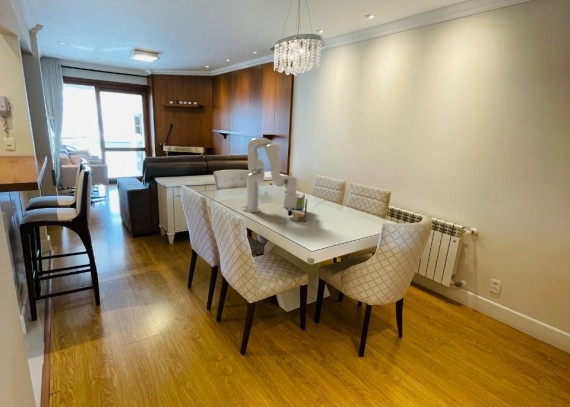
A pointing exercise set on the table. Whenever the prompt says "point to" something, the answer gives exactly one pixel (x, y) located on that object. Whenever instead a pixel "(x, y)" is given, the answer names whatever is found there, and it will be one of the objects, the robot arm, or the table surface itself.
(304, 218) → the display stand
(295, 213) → the carton
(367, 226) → the table surface
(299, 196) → the tea box
